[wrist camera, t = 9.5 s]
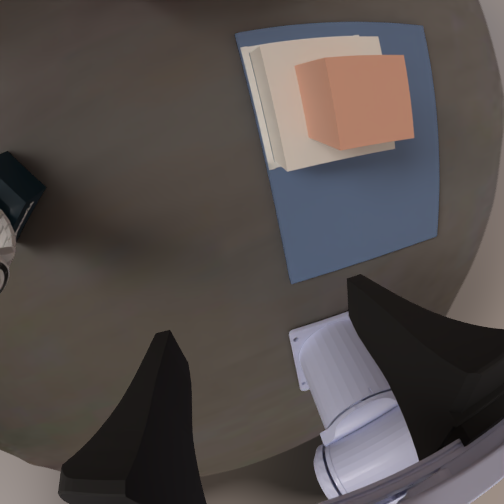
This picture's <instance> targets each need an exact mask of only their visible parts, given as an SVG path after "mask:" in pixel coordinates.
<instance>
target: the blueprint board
mask: <svg viewBox="0 0 504 504" xmlns="http://www.w3.org/2000/svg"><path fill="white" fill-rule="evenodd" d="M359 36H378V38H379V43H380V47H381V52H382V55H404V59H405V65H406V71H407V77H408V84H409V91H410V99H411V108H412V117H413V128H414V138H411V139H405V140H398V141H395V149H391V150H386V151H380V152H375V153H370V154H365V155H360V156H355V157H350V158H346V159H341V160H336V161H332V162H327V163H323V164H318V165H314V166H310V167H305V168H301V169H297V170H293V171H289V172H287V171H286V170H285V169H284V168H282V167H281V166H280V165H279V164H278V163H276V162H275V161H274V157H273V152H272V147H271V143H270V138H269V134H268V129H267V125H266V120H265V116H264V112H263V107H262V103H261V99H260V94H259V90H258V86H257V82H256V78H255V74H254V69H253V65H252V61H251V57H250V53H251V52H252V51H253V50H255V49H256V48H257V47H258V46H261V45H267V44H273V43H281V42H288V41H297V40H306V39H318V38H332V37H359ZM235 38H236V42H237V46H238V50H239V54H240V58H241V62H242V66H243V70H244V74H245V78H246V82H247V86H248V90H249V94H250V98H251V102H252V107H253V111H254V115H255V119H256V123H257V128H258V132H259V136H260V141H261V145H262V150H263V154H264V158H265V163H266V167H267V172H268V177H269V181H270V186H271V190H272V195H273V200H274V204H275V209H276V214H277V219H278V224H279V228H280V233H281V238H282V243H283V248H284V253H285V258H286V263H287V268H288V274H289V279H290V282H291V284H294V283H297V282H300V281H304V280H307V279H310V278H313V277H317V276H320V275H323V274H326V273H329V272H332V271H336V270H339V269H342V268H345V267H348V266H351V265H354V264H357V263H360V262H363V261H366V260H370V259H373V258H376V257H379V256H381V255H384V254H387V253H390V252H393V251H396V250H399V249H402V248H405V247H408V246H411V245H414V244H416V243H419V242H422V241H425V240H428V239H431V238H433V237H436V236H437V228H438V211H439V143H438V126H437V113H436V103H435V94H434V86H433V78H432V72H431V65H430V59H429V54H428V48H427V43H426V38H425V34H424V29H423V26H420V25H410V24H398V23H382V22H327V23H310V24H298V25H287V26H279V27H271V28H264V29H257V30H251V31H245V32H239V33H235Z"/></svg>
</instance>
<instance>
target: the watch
mask: <svg viewBox="0 0 504 504" xmlns="http://www.w3.org/2000/svg"><path fill="white" fill-rule="evenodd" d="M45 189H46V187H45V186H44V185H43V184H42V183H41V182H40V181H39V180H38V179H37V178H35V177H34V176H33V175H32V174H31V173H30V172H29V171H28V170H27V169H26V168H25V167H24V166H23V165H21V164H20V163H19V162H18V161H17V160H16V159H15V158H14V157H13V156H12V155H11V154H10V153H9V152H8V151H6V152H4V153H2V154H0V293H1V292H2V290H3V289H4V287H5V286H6V284H7V282H8V279H9V272H10V271H9V266H10V264H11V262H12V260H13V258H14V255H15V250H16V248H15V247H16V241H17V239H18V237H19V235H20V233H21V231H22V230H23V228H24V226H25V224H26V222H27V220H28V218H29V216H30V215H31V213H32V211H33V209H34V207H35V206H36V204H37V202H38V200H39V199H40V197H41V195H42V194H43V192H44V190H45Z"/></svg>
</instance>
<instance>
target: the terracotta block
mask: <svg viewBox="0 0 504 504" xmlns="http://www.w3.org/2000/svg"><path fill="white" fill-rule="evenodd" d="M294 67H295V71H296V76H297V80H298V85H299V90H300V95H301V100H302V105H303V110H304V115H305V120H306V126H307V131H308V137H309V138H311V139H314V140H316V141H319V142H321V143H324V144H326V145H328V146H331V147H333V148H336V149H338V150H340V151H341V150H347V149H352V148H357V147H363V146H368V145H374V144H380V143H386V142H392V141H398V140H405V139H411V138H414V128H413V117H412V108H411V99H410V91H409V84H408V77H407V71H406V65H405V59H404V55H357V56H339V57H326V58H321V59H317V60H313V61H310V62H306V63H302V64H299V65H295V66H294Z"/></svg>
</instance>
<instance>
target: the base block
mask: <svg viewBox="0 0 504 504" xmlns="http://www.w3.org/2000/svg"><path fill="white" fill-rule="evenodd" d="M357 55H382V52H381V47H380V43H379V38H378V36H359V37H332V38H318V39H306V40H297V41H288V42H281V43H273V44H267V45H261V46H258V47H257V48H256V49H255V50H253V51H252V52H251V53H250V57H251V61H252V65H253V69H254V74H255V78H256V82H257V86H258V90H259V94H260V99H261V103H262V107H263V112H264V116H265V120H266V125H267V129H268V134H269V138H270V143H271V147H272V152H273V157H274V161H275V162H276V163H278V164H279V165H280V166H281V167H282V168H284V169H285V170H286V171H287V172H289V171H293V170H297V169H301V168H305V167H310V166H314V165H318V164H323V163H327V162H332V161H336V160H341V159H346V158H350V157H355V156H360V155H365V154H370V153H375V152H380V151H386V150H391V149H395V141H392V142H386V143H380V144H374V145H368V146H363V147H357V148H352V149H347V150H341V151H340V150H338V149H336V148H333V147H331V146H328V145H326V144H324V143H321V142H319V141H316V140H314V139H311V138H309V137H308V131H307V126H306V120H305V115H304V110H303V105H302V100H301V95H300V90H299V85H298V80H297V76H296V71H295V67H294V66H295V65H299V64H302V63H306V62H310V61H313V60H317V59H321V58H326V57H339V56H357Z"/></svg>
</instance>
